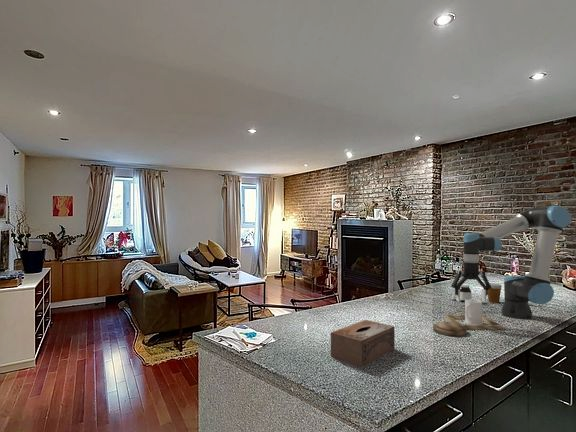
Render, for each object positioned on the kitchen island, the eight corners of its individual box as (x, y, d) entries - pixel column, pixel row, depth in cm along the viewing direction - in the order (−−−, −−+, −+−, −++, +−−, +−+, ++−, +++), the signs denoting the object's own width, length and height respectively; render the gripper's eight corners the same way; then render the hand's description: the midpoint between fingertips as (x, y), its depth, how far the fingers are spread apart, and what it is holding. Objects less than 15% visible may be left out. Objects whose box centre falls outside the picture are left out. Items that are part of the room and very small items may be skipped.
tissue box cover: (361, 367, 130) (361, 340, 130) (330, 357, 140) (330, 332, 140) (394, 349, 148) (394, 326, 148) (365, 341, 158) (365, 319, 158)
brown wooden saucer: (457, 327, 179) (457, 320, 179) (472, 336, 164) (472, 329, 164) (428, 326, 179) (428, 320, 179) (440, 336, 164) (440, 329, 164)
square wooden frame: (481, 318, 195) (481, 314, 195) (502, 329, 174) (502, 325, 174) (444, 318, 195) (444, 314, 195) (461, 329, 175) (461, 325, 175)
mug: (473, 327, 178) (473, 304, 178) (457, 323, 185) (457, 300, 186) (486, 323, 184) (485, 301, 184) (470, 320, 191) (470, 298, 192)
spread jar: (473, 303, 232) (473, 285, 232) (456, 303, 232) (456, 285, 232) (464, 299, 244) (464, 282, 244) (448, 299, 244) (448, 282, 244)
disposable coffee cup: (486, 299, 241) (486, 282, 241) (502, 301, 236) (502, 284, 236) (485, 302, 233) (484, 284, 234) (501, 304, 228) (501, 286, 228)
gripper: (490, 261, 189) (490, 300, 188) (444, 260, 190) (444, 299, 189) (498, 263, 181) (498, 303, 181) (450, 262, 182) (450, 302, 182)
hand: (471, 301), depth 185 cm, fingers open, 13 cm apart
